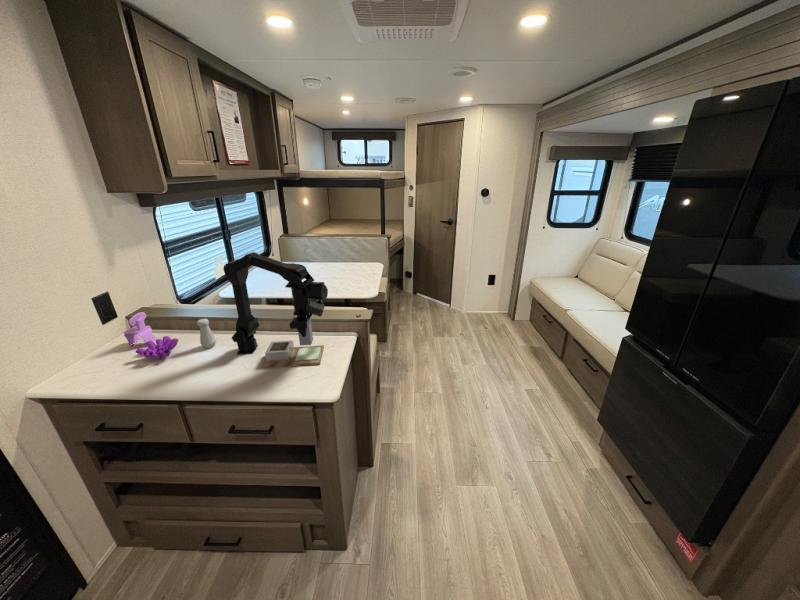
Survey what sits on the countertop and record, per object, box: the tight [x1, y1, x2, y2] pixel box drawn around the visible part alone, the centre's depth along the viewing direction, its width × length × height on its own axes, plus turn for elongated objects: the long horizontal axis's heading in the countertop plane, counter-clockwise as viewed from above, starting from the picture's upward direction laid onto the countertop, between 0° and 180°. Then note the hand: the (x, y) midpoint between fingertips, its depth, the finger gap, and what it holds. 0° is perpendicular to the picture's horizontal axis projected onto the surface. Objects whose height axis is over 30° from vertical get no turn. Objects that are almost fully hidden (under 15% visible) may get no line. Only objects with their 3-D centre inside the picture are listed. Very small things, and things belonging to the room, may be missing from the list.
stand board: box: [262, 345, 325, 369], centre depth 127 cm, size 22×13×1 cm, turn 96°
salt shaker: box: [196, 318, 217, 350], centre depth 132 cm, size 6×6×13 cm
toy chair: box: [123, 311, 158, 347], centre depth 135 cm, size 8×9×15 cm
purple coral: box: [134, 335, 179, 359], centre depth 127 cm, size 11×15×10 cm
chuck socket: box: [264, 340, 295, 363], centre depth 125 cm, size 9×9×4 cm
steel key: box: [297, 317, 314, 346], centre depth 123 cm, size 4×4×10 cm
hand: (305, 333), depth 123 cm, fingers closed on steel key, 4 cm apart
